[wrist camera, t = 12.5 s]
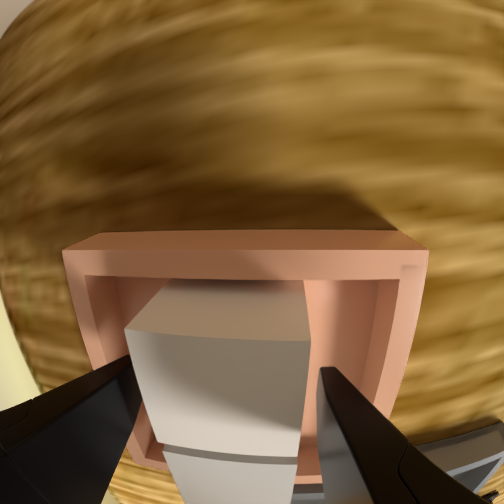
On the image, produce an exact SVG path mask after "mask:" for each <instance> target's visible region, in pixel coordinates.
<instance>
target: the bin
mask: <svg viewBox="0 0 504 504" xmlns="http://www.w3.org/2000/svg"><path fill="white" fill-rule="evenodd" d="M416 447H417V448H418V449H419V450H420V451H421V452H422V453H423V454H424V455H425V456H426V457H428V458H429V459H430V460H431V461H432V462H433V463H434V464H436V465H437V466H438V467H439V468H441V469H442V470H443V471H445V472H446V473H447V474H448V475H450V476H451V477H453V478H454V479H455V480H457V481H458V482H460V483H461V484H462V485H464V486H465V487H467V488H468V489H470V490H471V491H472V492H474V493H475V494H476V493H477V492H478V491H479V490H480V489H481V488H482V487H483V486H484V485H485V484H486V483H487V481H488V480H489V479H490V478H491V477H492V476H493V474H494V473H495V472H496V471H497V470H498V469H499V467H500V466H501V465H502V464H503V462H504V423H503V422H499V423H496V424H494V425H491V426H488V427H485V428H482V429H479V430H476V431H472V432H469V433H466V434H462V435H459V436H455V437H452V438H448V439H444V440H440V441H436V442H431V443H427V444H422V445H417V446H416ZM290 504H325V498H324V491H323V483H314V484H294V487H293V493H292V498H291V503H290Z"/></svg>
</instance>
